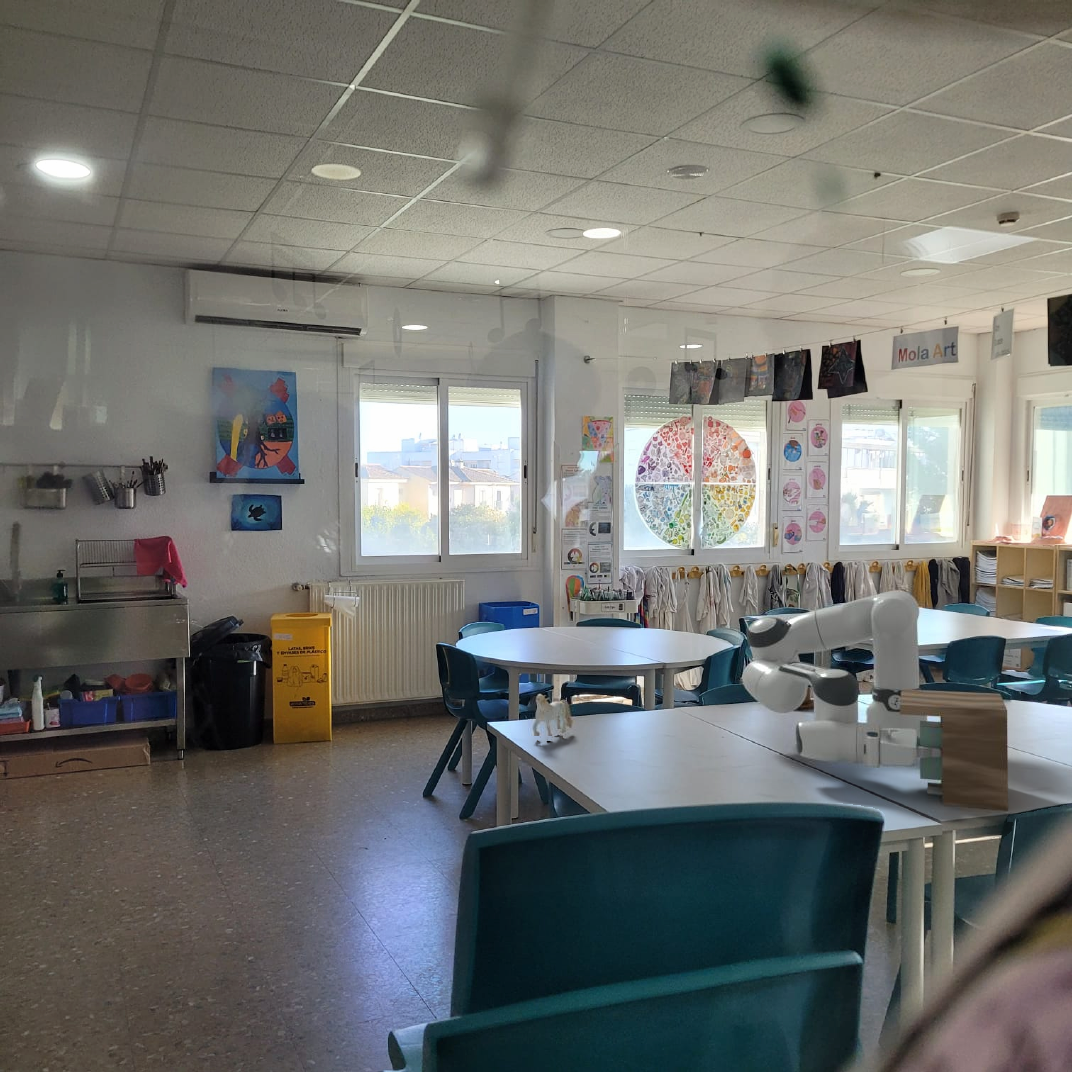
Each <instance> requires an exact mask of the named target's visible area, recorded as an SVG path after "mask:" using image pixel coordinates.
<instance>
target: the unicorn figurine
mask: <svg viewBox="0 0 1072 1072" xmlns="http://www.w3.org/2000/svg"><path fill="white" fill-rule="evenodd" d="M545 697H546V695H545V694H544V695H543V694H542V693H537V695H536V697H535V703H536V706H537V708H536V710H535V711H536V712H535V716H534V717H535V721H534V723H533V726H532V731H533V737H534V736H539V735H541V734H540V732H539V731H538V730H537V728H538V725H539V724H540V723H541V722H545V726H546V729H547V734H548V735H547V736H552V737H553V734H552V732H551V726H550V722H551V721H553V720H554V721H555V722H556V725H557V727H556V730H557V729H561V731H560V732H561V733H564V732H567V727H568V728H570V729H573V728H572V727H573V723H574V721H573V719H572V718H573V717H572V715H571V710H570V705H569V702H568V701H567V700H566V699H562V700H560V701H552V702H551V703H549V702H548V701H549V700H550V697H547V698H545ZM561 721H562V722H563V723H562V727H561Z"/></svg>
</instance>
